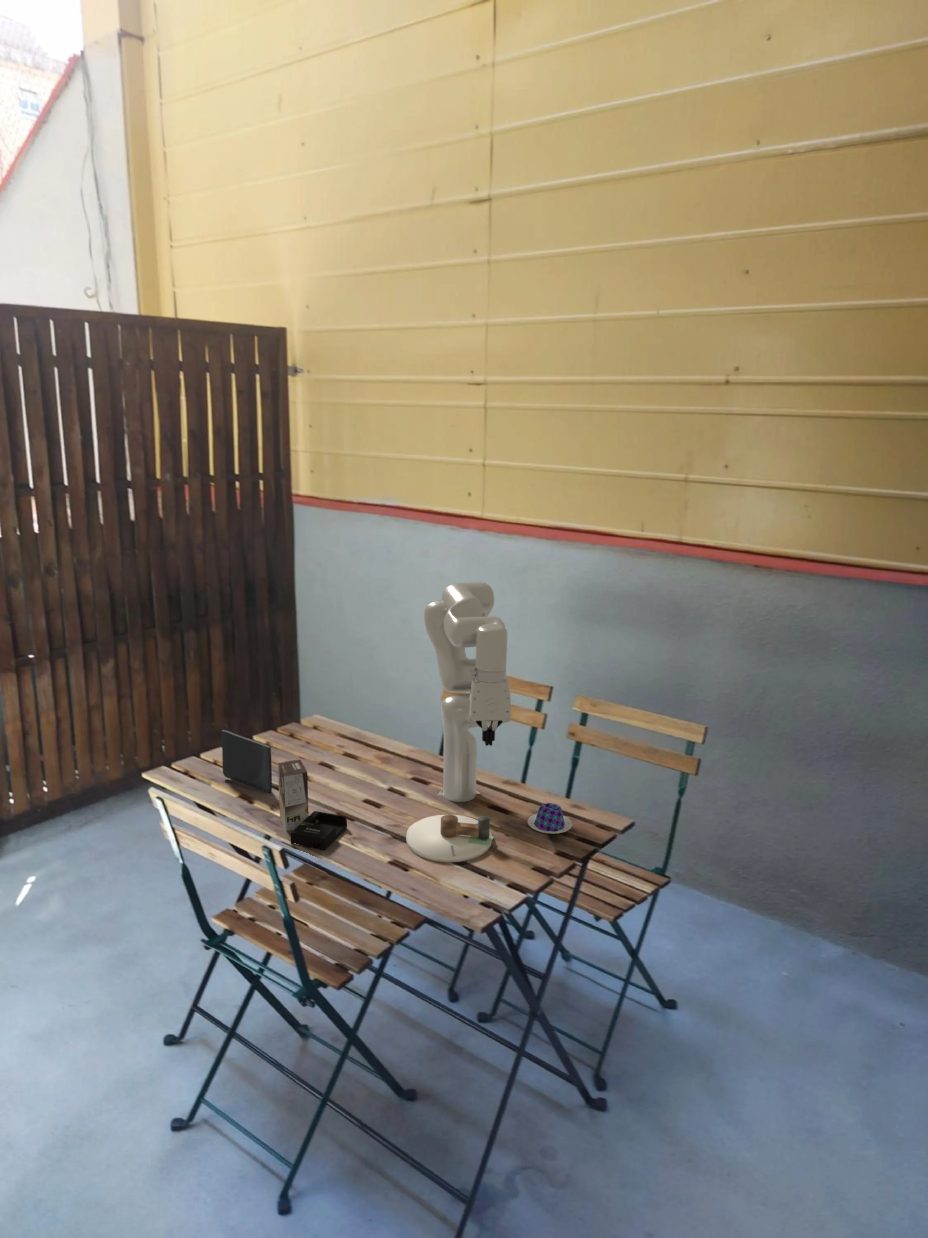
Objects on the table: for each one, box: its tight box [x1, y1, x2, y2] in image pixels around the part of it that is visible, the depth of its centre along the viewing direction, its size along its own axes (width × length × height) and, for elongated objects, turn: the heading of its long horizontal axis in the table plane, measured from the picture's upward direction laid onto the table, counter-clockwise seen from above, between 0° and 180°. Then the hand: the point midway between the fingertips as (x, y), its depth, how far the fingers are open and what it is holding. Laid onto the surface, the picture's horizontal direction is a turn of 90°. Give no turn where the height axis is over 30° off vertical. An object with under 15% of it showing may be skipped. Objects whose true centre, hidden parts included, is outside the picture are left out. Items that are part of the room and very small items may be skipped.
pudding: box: [527, 802, 573, 834], centre depth 223 cm, size 12×12×5 cm
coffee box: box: [277, 759, 309, 832], centre depth 219 cm, size 9×6×16 cm
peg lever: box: [441, 814, 491, 839], centre depth 212 cm, size 13×4×5 cm, turn 79°
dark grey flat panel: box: [221, 729, 273, 794], centre depth 241 cm, size 20×2×15 cm, turn 57°
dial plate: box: [405, 814, 495, 863], centre depth 214 cm, size 22×22×2 cm
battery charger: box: [290, 810, 348, 852], centre depth 214 cm, size 13×10×4 cm
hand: (488, 743), depth 209 cm, fingers closed
